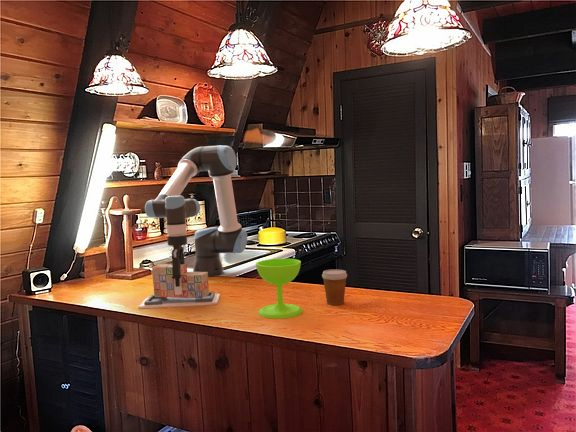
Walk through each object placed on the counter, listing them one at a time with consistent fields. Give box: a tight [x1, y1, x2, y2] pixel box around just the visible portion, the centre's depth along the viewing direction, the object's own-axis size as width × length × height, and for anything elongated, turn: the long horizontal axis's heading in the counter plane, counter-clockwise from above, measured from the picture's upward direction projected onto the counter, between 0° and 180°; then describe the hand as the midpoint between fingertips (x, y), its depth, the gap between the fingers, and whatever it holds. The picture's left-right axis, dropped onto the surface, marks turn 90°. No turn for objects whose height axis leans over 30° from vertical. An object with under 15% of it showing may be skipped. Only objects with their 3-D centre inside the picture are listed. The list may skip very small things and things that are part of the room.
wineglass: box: [255, 258, 304, 320], centre depth 178 cm, size 16×16×18 cm
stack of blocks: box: [151, 263, 210, 298], centre depth 198 cm, size 21×6×12 cm, turn 73°
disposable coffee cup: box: [321, 269, 348, 306], centre depth 187 cm, size 10×10×12 cm
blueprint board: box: [137, 291, 221, 309], centre depth 198 cm, size 14×30×2 cm, turn 93°
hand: (180, 291), depth 198 cm, fingers closed on stack of blocks, 8 cm apart
